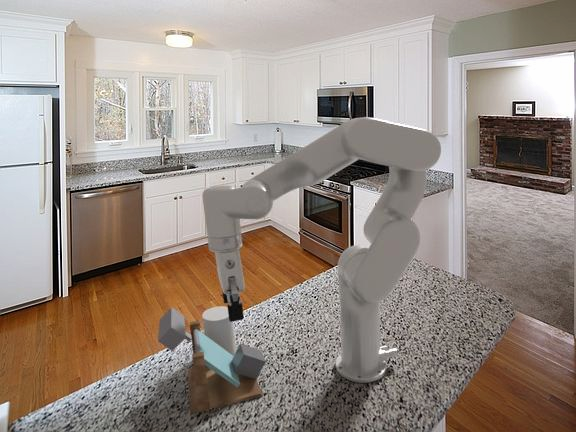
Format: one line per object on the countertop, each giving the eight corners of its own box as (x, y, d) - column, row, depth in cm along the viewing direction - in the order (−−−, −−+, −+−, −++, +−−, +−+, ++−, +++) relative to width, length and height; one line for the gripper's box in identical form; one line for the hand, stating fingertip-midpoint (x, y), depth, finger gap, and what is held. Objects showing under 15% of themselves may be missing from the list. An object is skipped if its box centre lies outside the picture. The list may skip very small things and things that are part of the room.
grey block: (231, 360, 94) (252, 367, 96) (234, 372, 89) (256, 379, 91) (240, 343, 94) (261, 350, 96) (243, 354, 89) (265, 361, 91)
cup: (242, 351, 105) (238, 311, 102) (218, 365, 99) (214, 323, 96) (223, 341, 110) (220, 303, 108) (200, 354, 104) (196, 314, 102)
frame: (249, 358, 101) (245, 312, 98) (261, 396, 86) (258, 344, 83) (188, 371, 97) (182, 323, 94) (190, 414, 82) (183, 359, 79)
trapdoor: (224, 363, 98) (235, 351, 98) (231, 394, 86) (243, 381, 86) (159, 317, 90) (171, 304, 91) (157, 344, 79) (171, 330, 79)
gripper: (248, 249, 78) (256, 324, 81) (235, 229, 94) (242, 293, 98) (211, 255, 76) (221, 331, 80) (205, 234, 92) (213, 298, 96)
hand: (233, 310), depth 89 cm, fingers open, 9 cm apart
